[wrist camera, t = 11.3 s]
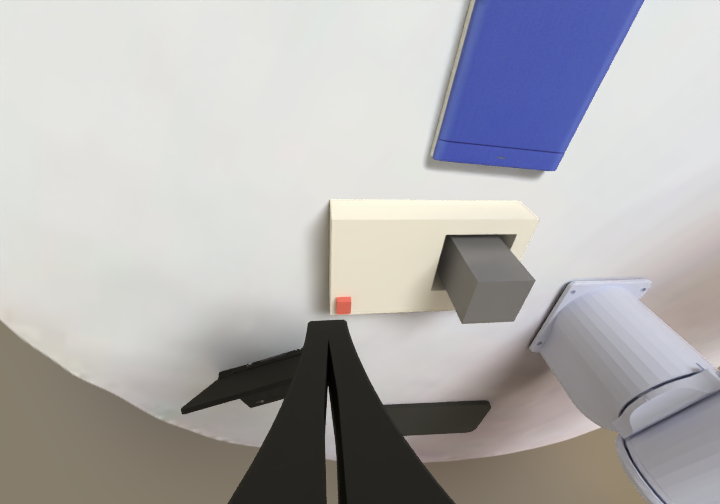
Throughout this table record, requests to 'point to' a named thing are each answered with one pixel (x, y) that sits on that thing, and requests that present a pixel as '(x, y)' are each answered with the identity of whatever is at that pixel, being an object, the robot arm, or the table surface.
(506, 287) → the plug
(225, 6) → the table surface
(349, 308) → the socket plate
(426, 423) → the phone
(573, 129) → the hard drive
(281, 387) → the handheld gaming console
